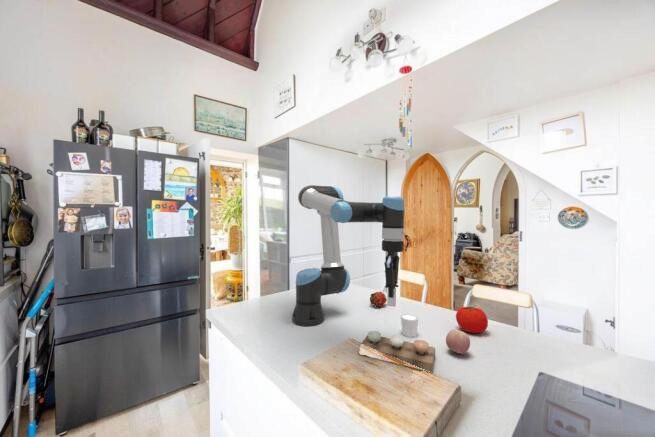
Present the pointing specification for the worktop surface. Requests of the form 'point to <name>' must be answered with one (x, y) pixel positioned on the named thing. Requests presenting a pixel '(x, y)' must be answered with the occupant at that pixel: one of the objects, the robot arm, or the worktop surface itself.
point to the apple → (458, 341)
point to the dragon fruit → (378, 299)
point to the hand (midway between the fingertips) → (391, 305)
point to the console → (405, 353)
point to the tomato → (472, 319)
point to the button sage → (374, 336)
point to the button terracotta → (421, 346)
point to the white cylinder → (409, 325)
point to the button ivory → (396, 341)
